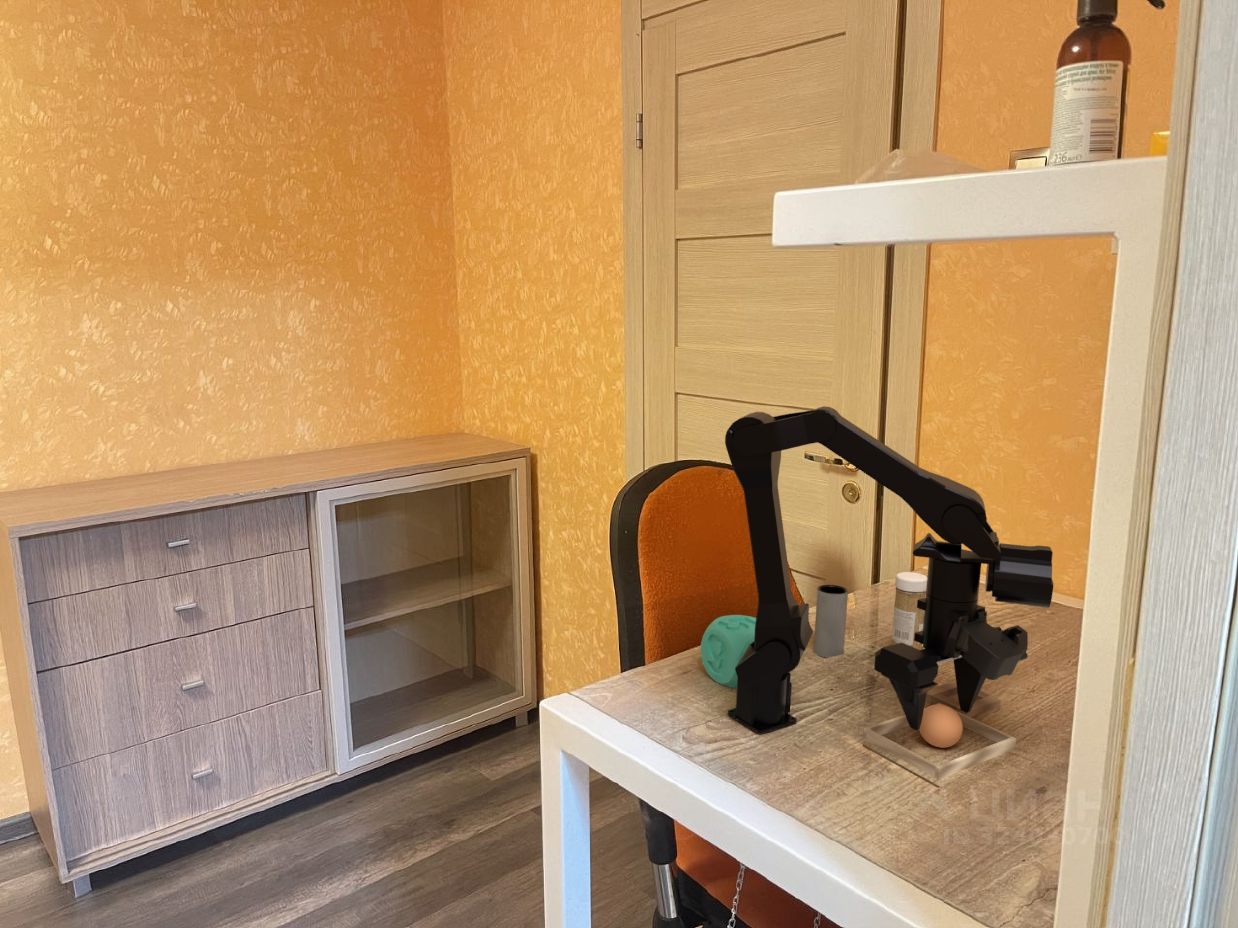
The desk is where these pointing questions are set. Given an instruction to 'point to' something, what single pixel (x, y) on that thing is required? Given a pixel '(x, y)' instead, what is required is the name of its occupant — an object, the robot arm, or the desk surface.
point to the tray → (930, 768)
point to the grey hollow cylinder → (830, 620)
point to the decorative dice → (726, 646)
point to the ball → (941, 726)
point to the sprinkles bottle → (908, 608)
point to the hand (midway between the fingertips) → (940, 719)
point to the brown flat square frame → (950, 689)
